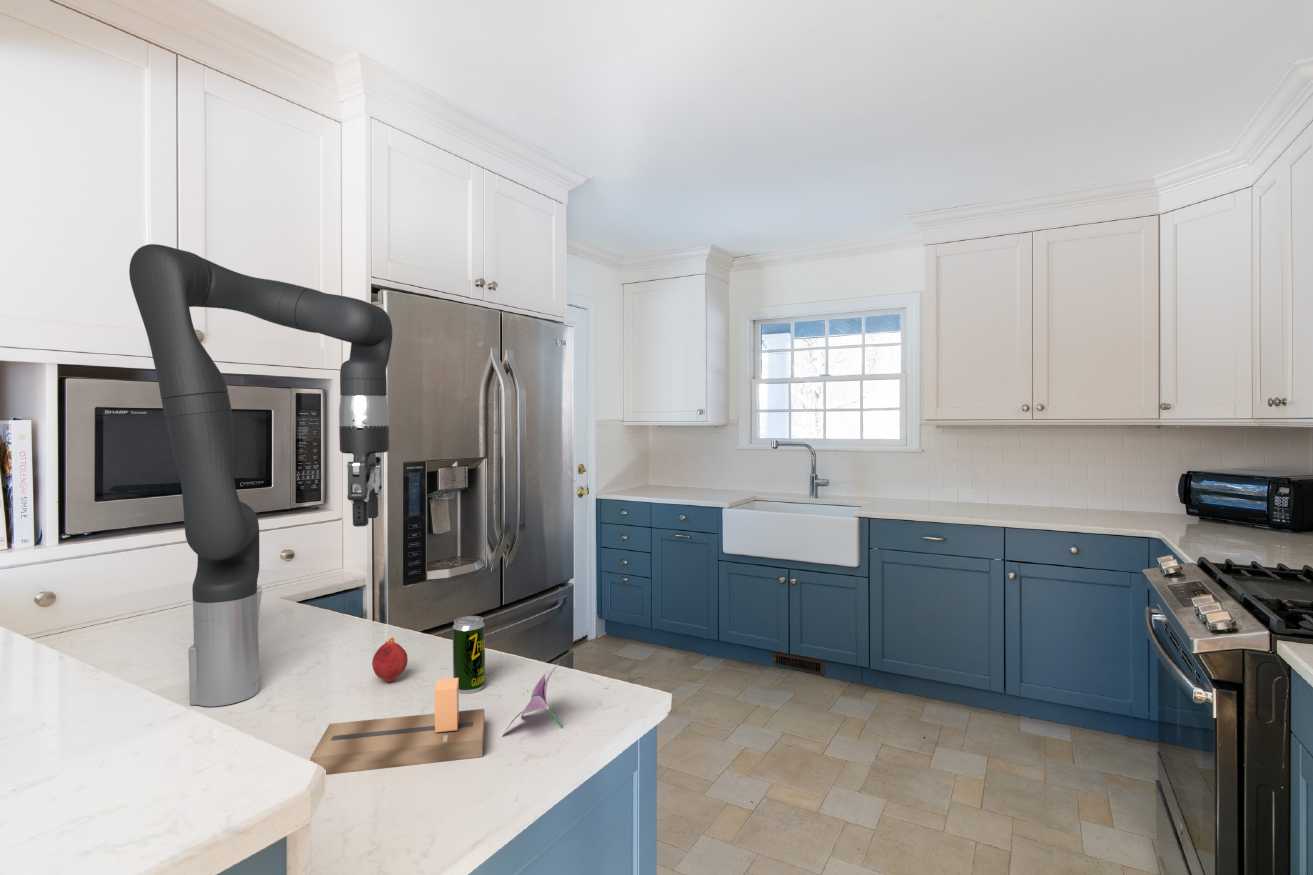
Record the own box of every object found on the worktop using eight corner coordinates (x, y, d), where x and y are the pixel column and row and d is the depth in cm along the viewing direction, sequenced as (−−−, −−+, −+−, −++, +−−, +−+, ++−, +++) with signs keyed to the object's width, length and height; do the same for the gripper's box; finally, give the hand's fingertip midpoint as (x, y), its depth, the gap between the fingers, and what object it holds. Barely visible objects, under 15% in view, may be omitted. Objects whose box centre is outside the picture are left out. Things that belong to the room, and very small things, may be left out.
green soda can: (447, 692, 115) (446, 623, 115) (465, 680, 120) (464, 614, 120) (474, 695, 114) (473, 626, 113) (491, 683, 119) (490, 616, 118)
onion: (395, 689, 116) (394, 644, 116) (365, 687, 117) (364, 642, 117) (413, 677, 122) (413, 633, 122) (385, 674, 123) (384, 631, 123)
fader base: (310, 776, 88) (310, 756, 88) (329, 740, 98) (329, 722, 98) (482, 756, 93) (482, 738, 93) (484, 724, 103) (484, 707, 103)
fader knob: (435, 732, 95) (434, 690, 94) (437, 719, 99) (437, 679, 98) (457, 729, 95) (456, 688, 95) (459, 717, 99) (458, 677, 99)
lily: (555, 709, 111) (525, 660, 110) (602, 699, 104) (571, 647, 103) (506, 762, 101) (473, 708, 101) (554, 755, 94) (519, 697, 94)
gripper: (349, 423, 116) (351, 516, 117) (328, 424, 102) (330, 530, 103) (395, 423, 118) (397, 515, 118) (380, 424, 104) (382, 528, 104)
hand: (366, 521), depth 111 cm, fingers open, 8 cm apart
